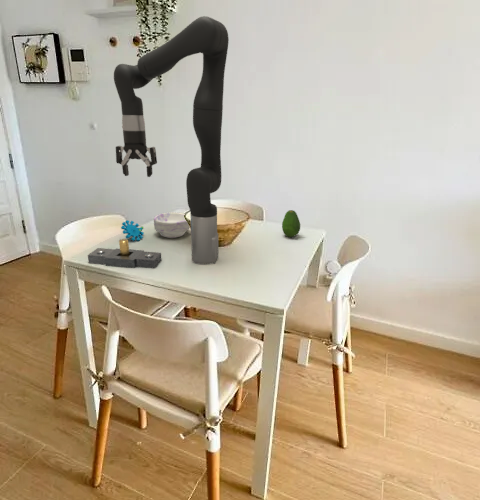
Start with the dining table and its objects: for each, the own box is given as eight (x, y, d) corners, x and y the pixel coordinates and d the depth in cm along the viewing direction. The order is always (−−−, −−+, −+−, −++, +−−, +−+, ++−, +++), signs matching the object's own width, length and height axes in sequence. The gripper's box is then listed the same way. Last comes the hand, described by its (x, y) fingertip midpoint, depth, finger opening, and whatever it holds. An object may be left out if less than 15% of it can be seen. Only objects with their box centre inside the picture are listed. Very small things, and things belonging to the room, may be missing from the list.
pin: (131, 260, 128) (129, 239, 125) (128, 263, 125) (125, 242, 122) (123, 259, 128) (121, 238, 126) (119, 263, 126) (117, 241, 123)
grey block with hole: (162, 259, 130) (161, 250, 128) (153, 269, 121) (152, 260, 120) (100, 254, 132) (98, 245, 131) (87, 264, 124) (85, 254, 123)
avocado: (277, 235, 158) (279, 209, 153) (292, 233, 161) (294, 207, 157) (288, 241, 151) (290, 213, 147) (303, 238, 155) (305, 211, 150)
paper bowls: (187, 240, 148) (186, 222, 146) (150, 239, 149) (149, 221, 146) (192, 229, 163) (192, 212, 160) (159, 228, 163) (158, 211, 160)
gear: (130, 241, 142) (118, 220, 144) (123, 249, 145) (111, 228, 147) (150, 237, 151) (138, 217, 153) (143, 244, 154) (131, 225, 156)
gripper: (157, 129, 127) (160, 175, 133) (119, 128, 128) (123, 173, 134) (149, 130, 120) (153, 178, 126) (109, 129, 121) (114, 177, 127)
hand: (137, 176), depth 130 cm, fingers open, 8 cm apart
